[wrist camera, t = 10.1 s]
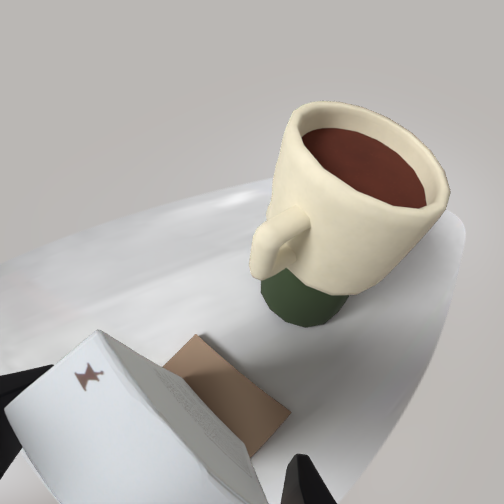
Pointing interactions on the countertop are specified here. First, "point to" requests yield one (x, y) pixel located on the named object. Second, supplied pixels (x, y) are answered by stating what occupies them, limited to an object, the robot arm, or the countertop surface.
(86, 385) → the skincare box
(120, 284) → the countertop surface
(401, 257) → the character mug
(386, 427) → the countertop surface
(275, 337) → the countertop surface
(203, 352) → the curved brown sheet
